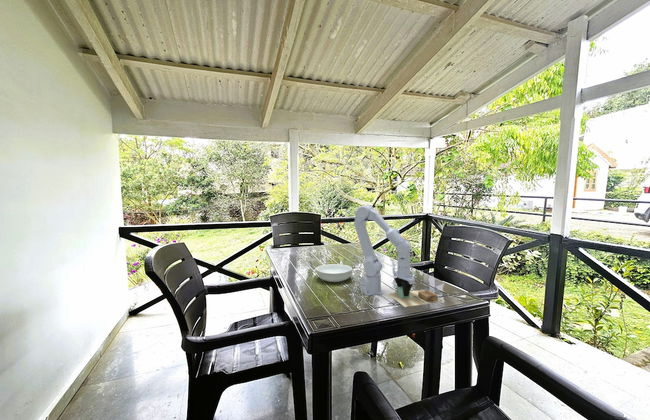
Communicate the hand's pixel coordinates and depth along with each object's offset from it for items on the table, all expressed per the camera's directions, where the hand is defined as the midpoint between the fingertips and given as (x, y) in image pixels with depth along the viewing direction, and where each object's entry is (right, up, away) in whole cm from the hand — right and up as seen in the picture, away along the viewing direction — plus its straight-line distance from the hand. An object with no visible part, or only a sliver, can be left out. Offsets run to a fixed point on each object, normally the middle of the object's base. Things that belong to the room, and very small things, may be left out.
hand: (403, 294), depth 130 cm
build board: (+5, -2, -2) cm, 5 cm away
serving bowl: (-32, 0, +28) cm, 42 cm away
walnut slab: (+10, -1, -3) cm, 11 cm away
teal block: (0, -1, 0) cm, 1 cm away
